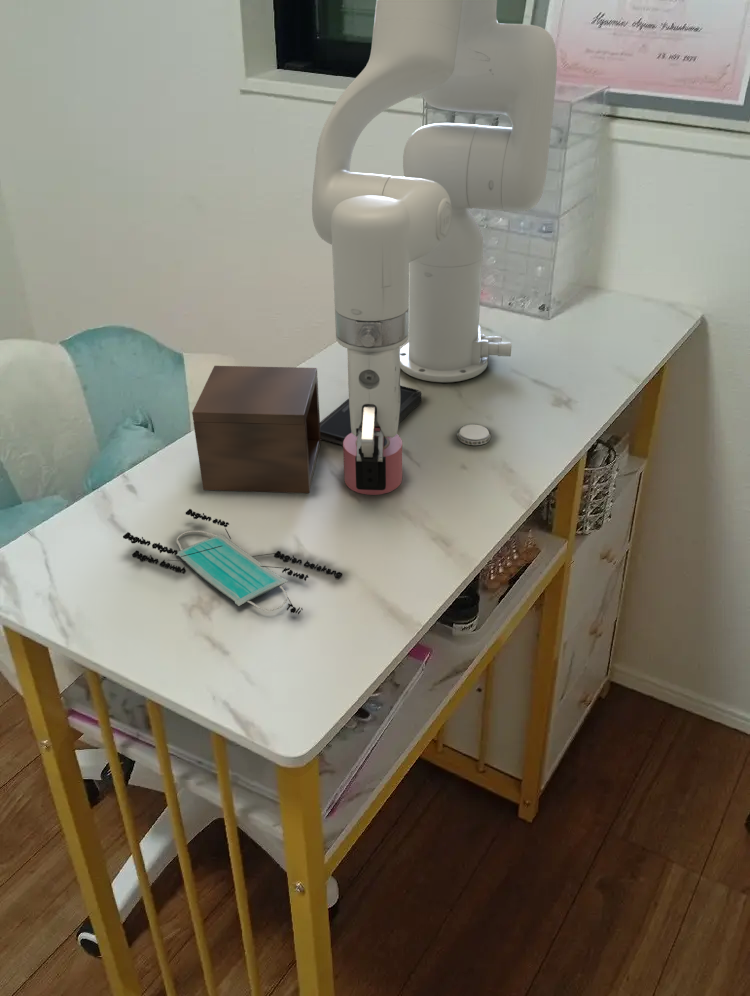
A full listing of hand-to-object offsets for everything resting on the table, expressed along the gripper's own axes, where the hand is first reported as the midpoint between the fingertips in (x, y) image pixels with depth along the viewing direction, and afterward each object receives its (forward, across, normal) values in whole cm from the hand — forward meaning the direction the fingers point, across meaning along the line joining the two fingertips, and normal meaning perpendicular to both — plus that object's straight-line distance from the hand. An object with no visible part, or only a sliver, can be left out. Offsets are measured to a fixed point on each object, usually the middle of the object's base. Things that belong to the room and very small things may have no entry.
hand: (374, 463), depth 102 cm
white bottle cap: (+2, +9, -12) cm, 15 cm away
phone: (+2, +13, +2) cm, 14 cm away
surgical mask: (+2, -17, +13) cm, 22 cm away
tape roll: (+2, 0, 0) cm, 2 cm away
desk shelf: (+2, +2, +13) cm, 13 cm away
